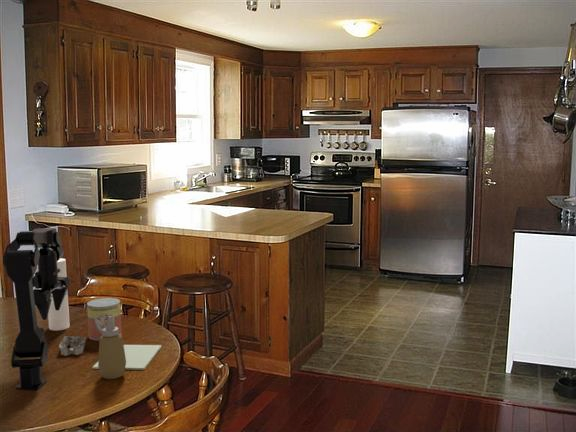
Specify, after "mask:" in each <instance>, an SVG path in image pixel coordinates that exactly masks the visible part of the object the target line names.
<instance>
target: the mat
mask: <svg viewBox="0 0 576 432" xmlns="http://www.w3.org/2000/svg"><path fill="white" fill-rule="evenodd" d="M123 345H124V351H125V357H126V366H125V369H124V370H134V371H135V370H136V371H138V370H140V371H143V370H145V369H147V367H148V365H150V363H151V362H152V360H153V359H154V358H155V357H156V355H157V354H158V352H159V351H160V350H161V348H162V345H161V344H160V345H159V344H123ZM92 369H93V370H100V369H99V367H98V361H97V362H96V363H95V364H94V365H93V366H92Z"/></svg>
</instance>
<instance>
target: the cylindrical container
mask: <svg viewBox="0 0 576 432" xmlns="http://www.w3.org/2000/svg"><path fill="white" fill-rule="evenodd" d="M66 262H67V260H66V258H62V257H61V258H60V259H59V260H58V261H57V269H60V272H59V273H58V277H68V276H67V263H66ZM64 287H65V286H64ZM68 290H69V289H68ZM68 290H67V292H66V294H65V297H64V299H63V302H62V304H61V307H60V309H59V310H55V306H54V301H53V295H52V293H51V298H50V299H52V300H51V304H50V308H49V313H48V316H47V319H48V329H49V330H50V331H63V330H67V329H69V328H70V323H71V322H70V310H69V294H68V293H69V292H68Z"/></svg>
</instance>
